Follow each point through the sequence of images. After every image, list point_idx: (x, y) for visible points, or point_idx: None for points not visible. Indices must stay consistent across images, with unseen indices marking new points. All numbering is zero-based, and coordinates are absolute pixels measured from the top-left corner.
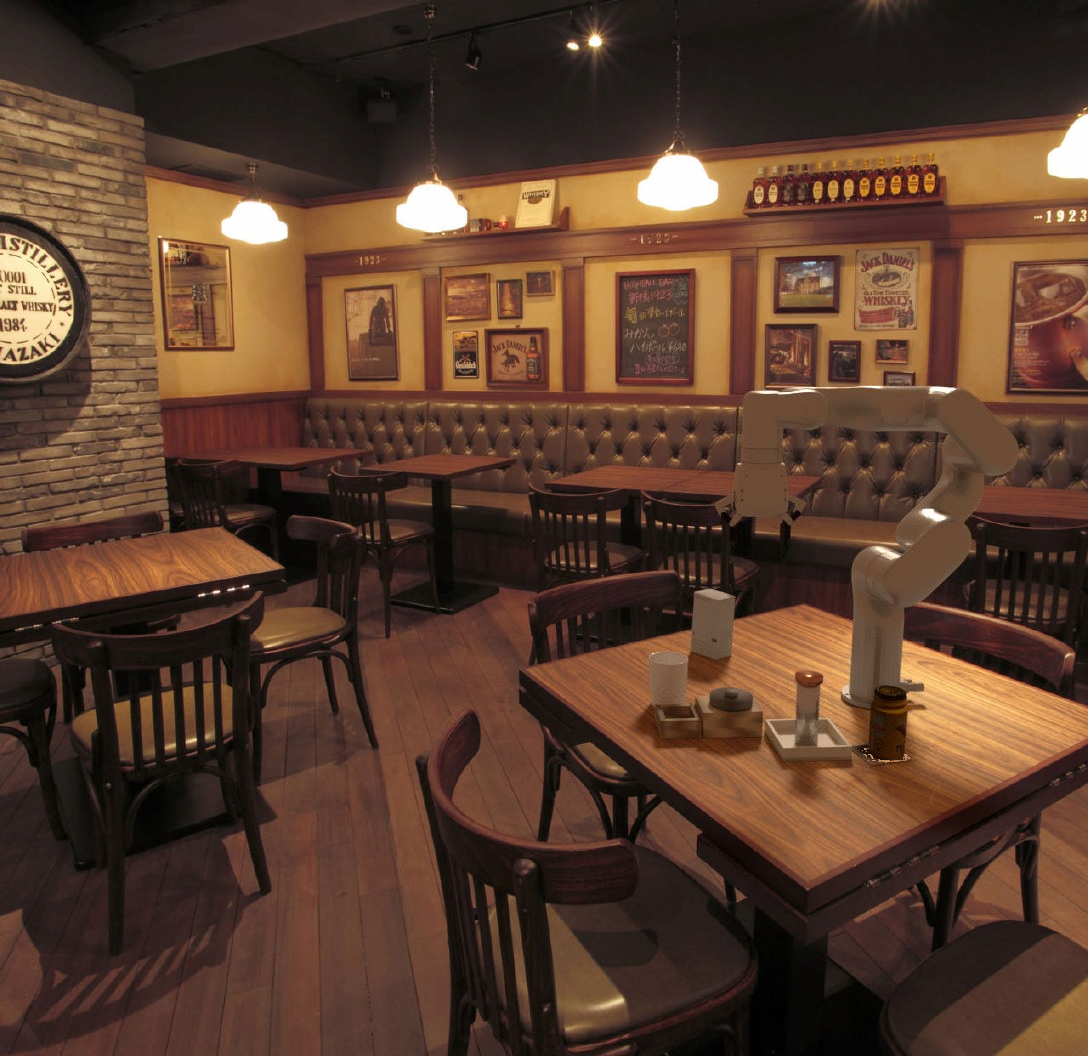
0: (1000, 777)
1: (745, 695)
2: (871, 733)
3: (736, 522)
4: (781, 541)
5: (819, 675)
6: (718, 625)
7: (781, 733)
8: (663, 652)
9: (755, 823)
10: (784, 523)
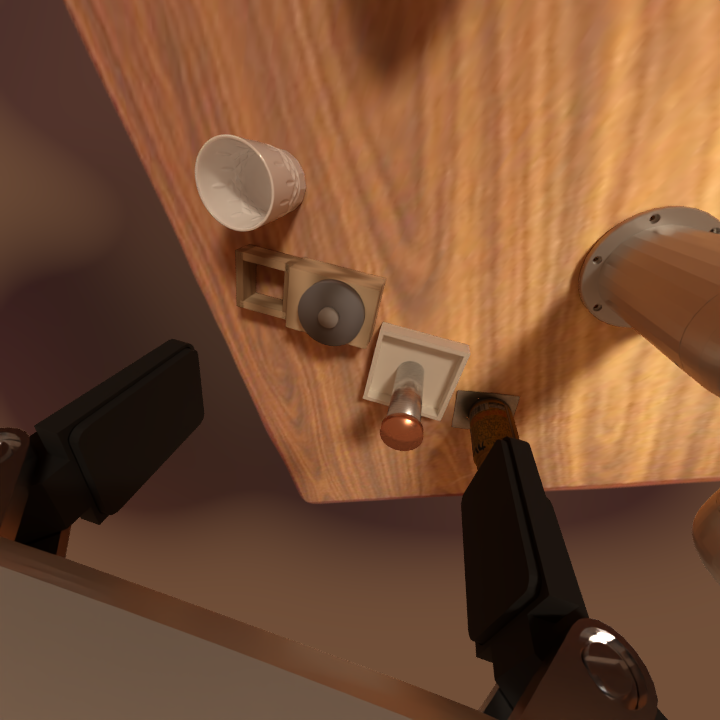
0: (559, 483)
1: (350, 323)
2: (471, 428)
3: (59, 548)
4: (482, 474)
5: (416, 441)
6: None
7: (396, 341)
8: (229, 138)
9: (297, 452)
10: (495, 655)
